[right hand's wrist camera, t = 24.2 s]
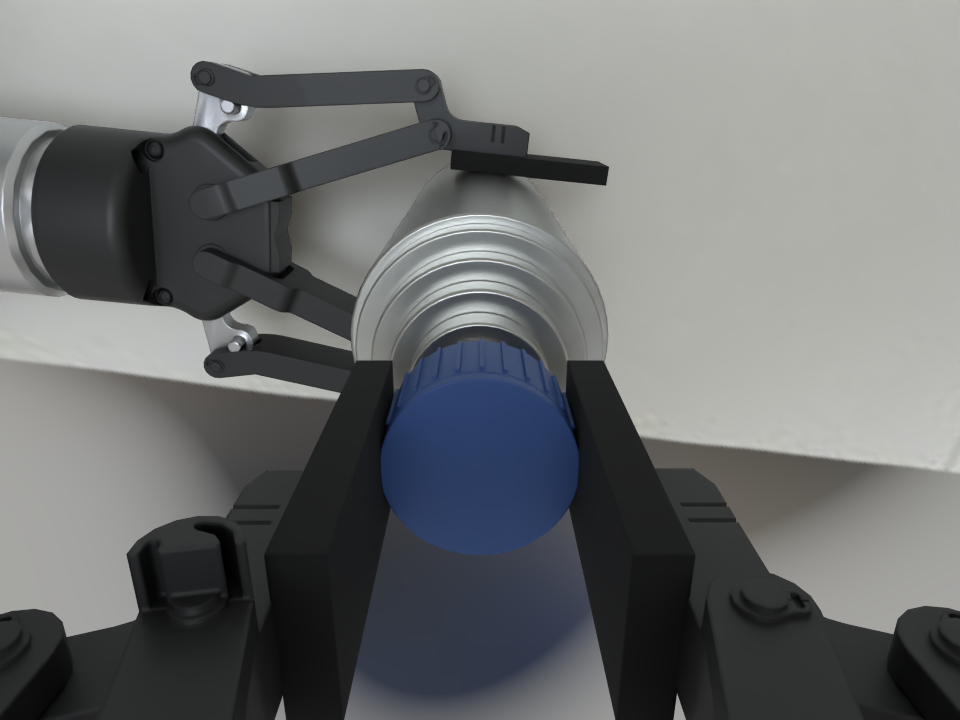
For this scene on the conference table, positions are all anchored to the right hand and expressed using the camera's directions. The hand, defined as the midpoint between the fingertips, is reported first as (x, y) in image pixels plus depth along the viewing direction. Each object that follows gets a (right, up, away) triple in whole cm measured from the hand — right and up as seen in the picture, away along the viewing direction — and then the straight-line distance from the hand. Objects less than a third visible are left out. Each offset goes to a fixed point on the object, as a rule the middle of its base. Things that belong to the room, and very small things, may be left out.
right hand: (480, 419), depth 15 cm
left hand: (+5, +6, +16) cm, 18 cm away
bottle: (0, +8, +22) cm, 24 cm away
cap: (0, -1, -2) cm, 2 cm away
